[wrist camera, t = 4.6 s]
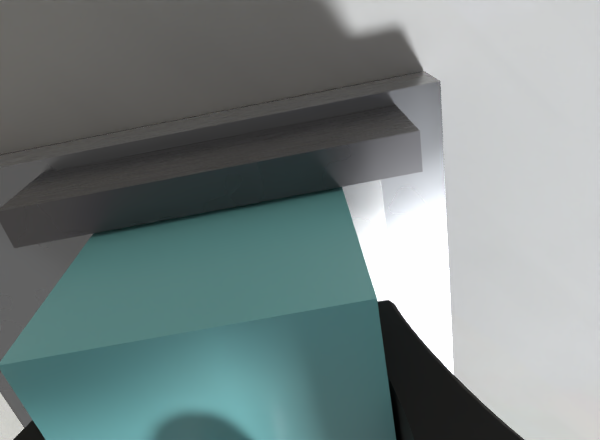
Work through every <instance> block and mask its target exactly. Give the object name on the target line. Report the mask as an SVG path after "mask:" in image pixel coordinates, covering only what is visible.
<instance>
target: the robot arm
mask: <svg viewBox="0 0 600 440" xmlns="http://www.w3.org/2000/svg"><path fill="white" fill-rule="evenodd" d="M378 310H379V317H380V324H381V332H382V339H383V346H384V354H385V361H386V368H387V376H388V383H389V390H390V398H391V405H392V412H393V420H394V427H395V434H396V440H524V439H523V438H522V437H521V436H519V435H518V434H517V433H516V432H515V431H513V430H512V429H511V428H510V427H509V426H507V425H506V424H505V423H504V422H503V421H502V420H501V419H500V418H498V417H497V416H496V415H495V414H494V413H493V412H492V411H491V410H490V409H488V408H487V407H486V406H485V405H484V404H483V403H482V402H481V401H480V400H479V399H478V398H477V397H476V396H475V395H474V394H473V393H471V392H470V391H469V390H468V389H467V388H466V387H465V386H464V385H463V384H462V383H461V382H460V381H459V380H458V379H457V378H456V377H455V376H454V375H453V374H452V373H451V372H450V370H449V369H448V368H447V367H446V366H445V365H444V364H443V363H442V362H441V361H440V360H439V359H438V358H437V356H436V355H435V354H434V353H433V352H432V351H431V350H430V349H429V348H428V347H427V345H426V344H425V343H424V342H423V341H422V340H421V338H420V337H419V336H418V335H417V333H416V332H415V331H414V330H413V329H412V327H411V326H410V325H409V324H408V322H407V321H406V320H405V318H404V317H403V316H402V314H401V313H400V311H399V310H398V308H397V307H396V305H395V304H394V303H393V302H391V301H390V300H383V301H378ZM13 440H45V438H44V437H43V435H42V433H41V432H40V430H39V429H38V427H37V426H36V424H35V423H34V421H33V420H32V421H31V422H30V423H29V424H28V425H27V426H26V427H25V428H24V429H23V430H22V431H21V432H20V433H19V434H18V435H17V436H16V437H15V438H14V439H13Z"/></svg>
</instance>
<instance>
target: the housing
mask: <svg viewBox="0 0 600 440" xmlns="http://www.w3.org/2000/svg"><path fill="white" fill-rule="evenodd" d="M0 370H1V372H2V374H3V375H4V377H5V378H6V380H7V381H8V383H9V384H10V386H11V387H12V389H13V390H14V392H15V394H16V395H17V397H18V398H19V400H20V401H21V403H22V404H23V406H24V407H25V409H26V410H27V412H28V413H29V415H30V417H31V418H32V420H33V421H34V423H35V424H36V426H37V427H38V429H39V430H40V432H41V433H42V435H43V437H44V438H45V440H396V434H395V427H394V420H393V412H392V405H391V398H390V390H389V383H388V376H387V368H386V361H385V354H384V346H383V339H382V332H381V324H380V317H379V310H378V302H377V297H376V294H375V291H374V287H373V284H372V281H371V278H370V275H369V271H368V268H367V265H366V262H365V259H364V256H363V252H362V249H361V246H360V243H359V240H358V236H357V233H356V230H355V227H354V224H353V220H352V217H351V214H350V211H349V208H348V204H347V201H346V198H345V195H344V192H343V189H342V187H338V188H333V189H328V190H322V191H317V192H312V193H306V194H301V195H296V196H290V197H285V198H280V199H274V200H269V201H264V202H258V203H253V204H248V205H242V206H237V207H232V208H226V209H221V210H216V211H210V212H205V213H200V214H194V215H189V216H184V217H178V218H173V219H168V220H162V221H157V222H152V223H146V224H141V225H136V226H130V227H125V228H120V229H115V230H109V231H104V232H99V233H93V235H92V236H91V237H90V239H89V240H88V241H87V243H86V244H85V246H84V247H83V248H82V250H81V251H80V252H79V254H78V255H77V257H76V258H75V259H74V261H73V262H72V263H71V265H70V266H69V268H68V269H67V270H66V272H65V273H64V274H63V276H62V277H61V279H60V280H59V281H58V283H57V284H56V285H55V287H54V288H53V290H52V291H51V292H50V294H49V295H48V296H47V298H46V299H45V301H44V302H43V303H42V305H41V306H40V308H39V309H38V310H37V312H36V313H35V314H34V316H33V317H32V319H31V320H30V321H29V323H28V324H27V325H26V327H25V328H24V330H23V331H22V332H21V334H20V335H19V336H18V338H17V339H16V341H15V342H14V343H13V345H12V346H11V347H10V349H9V350H8V352H7V353H6V354H5V356H4V357H3V358H2V360H1V361H0Z"/></svg>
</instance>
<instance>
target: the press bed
mask: <svg viewBox="0 0 600 440" xmlns="http://www.w3.org/2000/svg"><path fill="white" fill-rule="evenodd" d="M338 187H342V189H343V192H344V195H345V198H346V201H347V204H348V208H349V211H350V214H351V217H352V220H353V224H354V227H355V230H356V233H357V236H358V240H359V243H360V246H361V249H362V252H363V256H364V259H365V262H366V265H367V268H368V271H369V275H370V278H371V281H372V284H373V287H374V291H375V294H376V297H377V302H378V301H383V300H390V301H391V302H393V303H394V304H395V305H396V307H397V308H398V310H399V311H400V313H401V314H402V316H403V317H404V318H405V320H406V321H407V322H408V324H409V325H410V326H411V327H412V329H413V330H414V331H415V332H416V333H417V335H418V336H419V337H420V338H421V340H422V341H423V342H424V343H425V344H426V345H427V347H428V348H429V349H430V350H431V351H432V352H433V353H434V354H435V355H436V356H437V358H438V359H439V360H440V361H441V362H442V363H443V364H444V365H445V366H446V367H447V368H448V369H449V370H450V372H451V373H452V374H453V375H454V373H453V351H452V329H451V307H450V285H449V263H448V241H447V219H446V197H445V175H444V153H443V131H442V109H441V87H440V81H439V80H437V79H436V78H434V77H433V76H431V75H429V74H428V73H426V72H425V71H424V72H419V73H414V74H409V75H404V76H399V77H393V78H388V79H383V80H378V81H373V82H368V83H363V84H358V85H353V86H348V87H343V88H338V89H333V90H328V91H323V92H317V93H312V94H307V95H302V96H297V97H292V98H287V99H282V100H277V101H272V102H267V103H262V104H257V105H252V106H247V107H241V108H236V109H231V110H226V111H221V112H216V113H211V114H206V115H201V116H196V117H191V118H186V119H181V120H176V121H170V122H165V123H160V124H155V125H150V126H145V127H140V128H135V129H130V130H125V131H120V132H115V133H110V134H105V135H100V136H94V137H89V138H84V139H79V140H74V141H69V142H64V143H59V144H54V145H49V146H44V147H39V148H34V149H29V150H24V151H18V152H13V153H8V154H3V155H0V361H1V360H2V358H3V357H4V356H5V354H6V353H7V352H8V350H9V349H10V347H11V346H12V345H13V343H14V342H15V341H16V339H17V338H18V336H19V335H20V334H21V332H22V331H23V330H24V328H25V327H26V325H27V324H28V323H29V321H30V320H31V319H32V317H33V316H34V314H35V313H36V312H37V310H38V309H39V308H40V306H41V305H42V303H43V302H44V301H45V299H46V298H47V296H48V295H49V294H50V292H51V291H52V290H53V288H54V287H55V285H56V284H57V283H58V281H59V280H60V279H61V277H62V276H63V274H64V273H65V272H66V270H67V269H68V268H69V266H70V265H71V263H72V262H73V261H74V259H75V258H76V257H77V255H78V254H79V252H80V251H81V250H82V248H83V247H84V246H85V244H86V243H87V241H88V240H89V239H90V237H91V236H92V235H93V233H99V232H104V231H109V230H115V229H120V228H125V227H130V226H136V225H141V224H146V223H152V222H157V221H162V220H168V219H173V218H178V217H184V216H189V215H194V214H200V213H205V212H210V211H216V210H221V209H226V208H232V207H237V206H242V205H248V204H253V203H258V202H264V201H269V200H274V199H280V198H285V197H290V196H296V195H301V194H306V193H312V192H317V191H322V190H328V189H333V188H338ZM0 392H1V394H2V395H3V397H4V398H5V400H6V401H7V403H8V404H9V406H10V407H11V409H12V410H13V412H14V413H15V415H16V416H17V418H18V419H19V421H20V422H21V424H22V425H23V427H24V428H25V427H26V426H27V425H28V424H29V423H30V422H31V421H32V418H31V417H30V415H29V413H28V412H27V410H26V409H25V407H24V406H23V404H22V403H21V401H20V400H19V398H18V397H17V395H16V394H15V392H14V390H13V389H12V387H11V386H10V384H9V383H8V381H7V380H6V378H5V377H4V375H3V374H2V372H1V370H0Z"/></svg>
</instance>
